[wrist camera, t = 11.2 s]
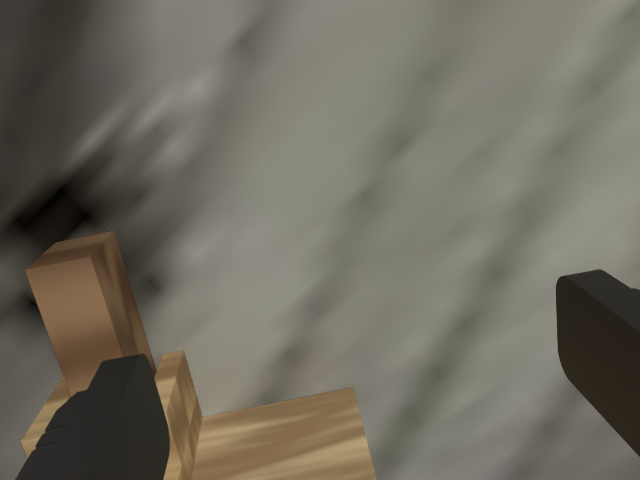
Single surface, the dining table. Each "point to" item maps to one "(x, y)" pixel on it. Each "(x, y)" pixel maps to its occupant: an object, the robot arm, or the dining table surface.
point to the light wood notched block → (248, 434)
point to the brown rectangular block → (87, 306)
